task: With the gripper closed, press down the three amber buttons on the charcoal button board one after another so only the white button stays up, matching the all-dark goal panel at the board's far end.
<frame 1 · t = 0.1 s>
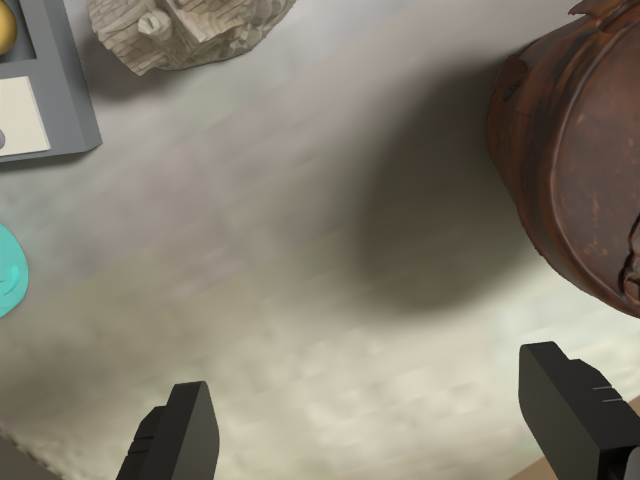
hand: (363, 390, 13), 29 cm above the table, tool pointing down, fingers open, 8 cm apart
brown tapered round container: (566, 109, 40), on the table
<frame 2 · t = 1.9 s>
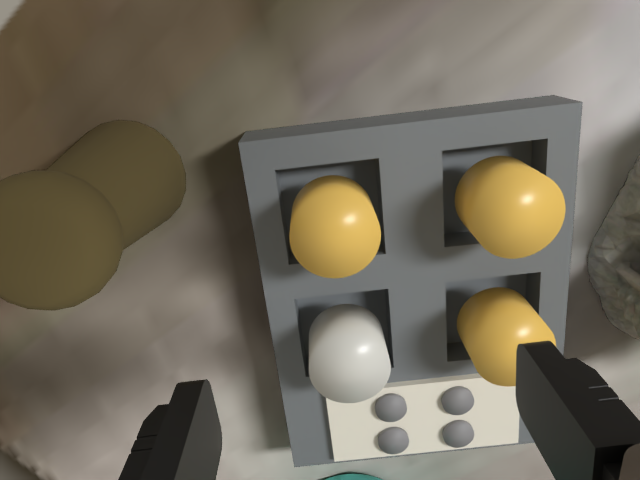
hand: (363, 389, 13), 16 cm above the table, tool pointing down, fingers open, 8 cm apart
white button: (347, 352, 26), point 5 cm above the table, slide at 0.0 cm
amber button 2: (506, 205, 24), point 5 cm above the table, slide at 0.0 cm
amber button 3: (503, 335, 26), point 5 cm above the table, slide at 0.0 cm
amber button 1: (333, 225, 24), point 5 cm above the table, slide at 0.0 cm
olive rounded cylinder: (130, 176, 28), on the table
button board: (407, 285, 30), on the table
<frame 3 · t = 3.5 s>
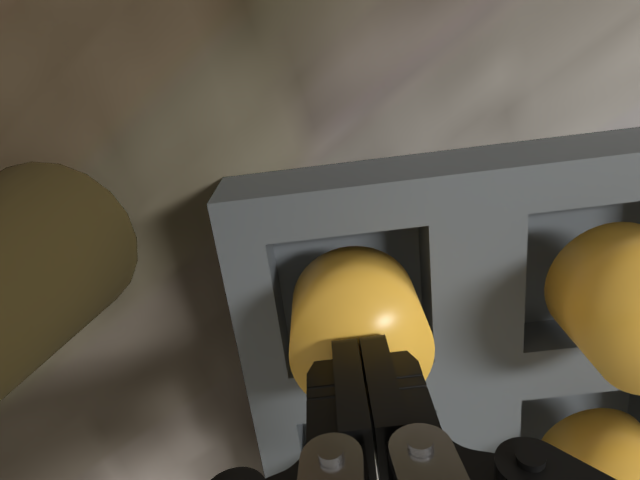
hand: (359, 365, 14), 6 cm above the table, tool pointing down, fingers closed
amber button 2: (636, 305, 15), point 5 cm above the table, slide at 0.0 cm
amber button 1: (357, 326, 15), point 4 cm above the table, slide at 0.5 cm, touching gripper
olive rounded cylinder: (56, 240, 19), on the table
button board: (457, 385, 21), on the table
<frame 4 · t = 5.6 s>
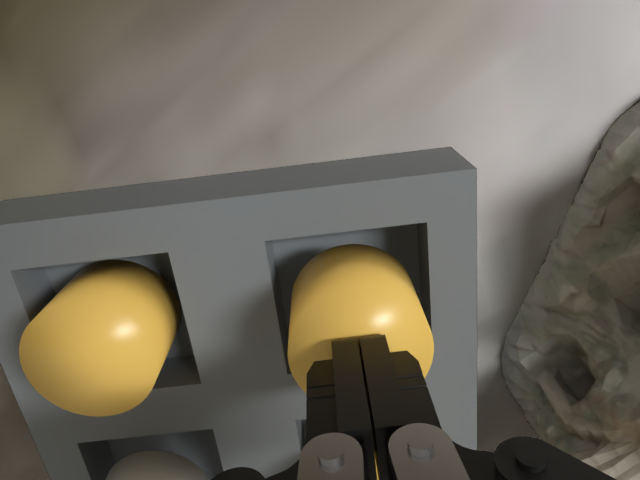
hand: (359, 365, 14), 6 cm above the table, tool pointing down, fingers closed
amber button 2: (356, 324, 15), point 4 cm above the table, slide at 0.4 cm, touching gripper
amber button 1: (107, 335, 17), point 3 cm above the table, slide at 1.4 cm
button board: (267, 401, 22), on the table
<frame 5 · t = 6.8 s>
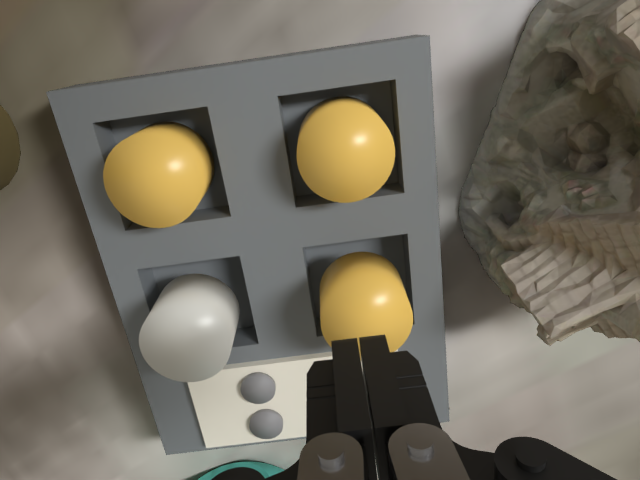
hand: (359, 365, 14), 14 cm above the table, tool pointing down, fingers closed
white button: (192, 326, 24), point 5 cm above the table, slide at 0.0 cm
amber button 2: (343, 147, 22), point 3 cm above the table, slide at 1.4 cm
ceramic cottage: (594, 134, 26), on the table
amber button 3: (363, 304, 23), point 5 cm above the table, slide at 0.0 cm
amber button 1: (162, 173, 22), point 3 cm above the table, slide at 1.4 cm
button board: (279, 254, 28), on the table
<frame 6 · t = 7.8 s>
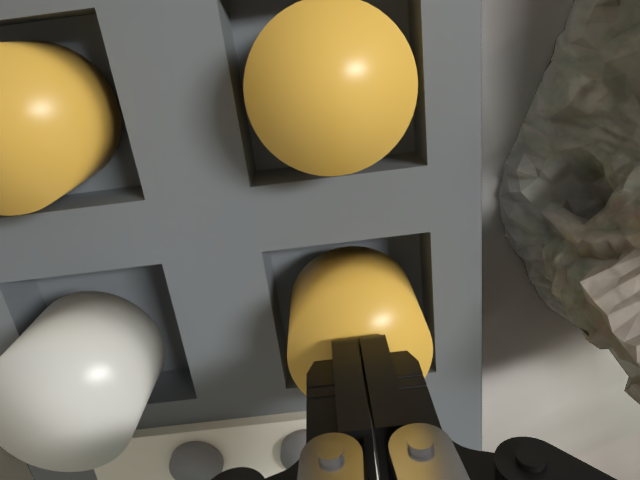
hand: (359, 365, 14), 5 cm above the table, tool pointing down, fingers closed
white button: (80, 377, 15), point 5 cm above the table, slide at 0.0 cm
amber button 2: (328, 85, 13), point 3 cm above the table, slide at 1.4 cm
amber button 3: (355, 326, 15), point 4 cm above the table, slide at 1.1 cm, touching gripper
amber button 1: (23, 124, 13), point 3 cm above the table, slide at 1.4 cm
button board: (234, 261, 19), on the table
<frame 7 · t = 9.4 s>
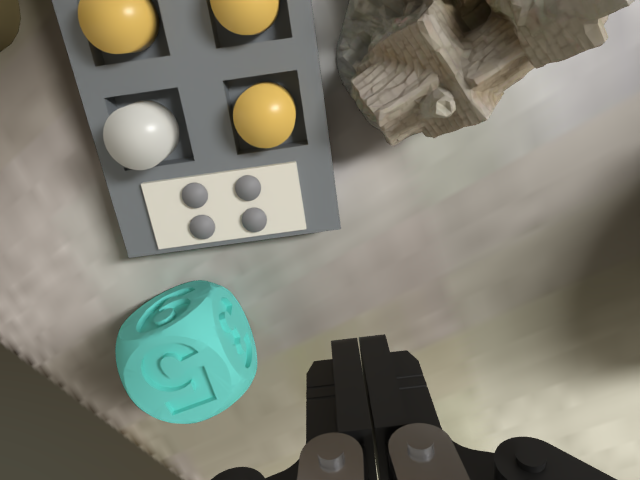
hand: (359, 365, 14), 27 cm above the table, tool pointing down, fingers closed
white button: (143, 134, 33), point 5 cm above the table, slide at 0.0 cm
amber button 2: (246, 0, 32), point 3 cm above the table, slide at 1.4 cm
ceramic cottage: (431, 1, 35), on the table
amber button 3: (265, 114, 34), point 3 cm above the table, slide at 1.4 cm
decorative dice: (200, 322, 44), on the table
amber button 1: (120, 19, 32), point 3 cm above the table, slide at 1.4 cm
button board: (212, 101, 37), on the table
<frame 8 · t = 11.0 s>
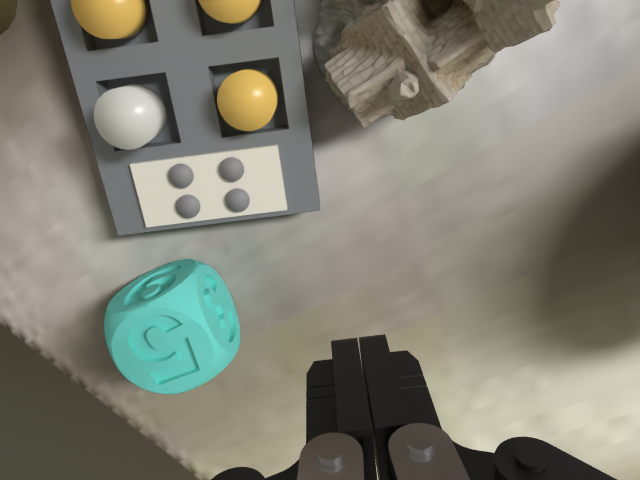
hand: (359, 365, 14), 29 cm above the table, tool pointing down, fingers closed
white button: (131, 116, 35), point 5 cm above the table, slide at 0.0 cm
amber button 3: (248, 99, 36), point 3 cm above the table, slide at 1.4 cm
decorative dice: (186, 300, 46), on the table
amber button 1: (111, 6, 34), point 3 cm above the table, slide at 1.4 cm
button board: (199, 87, 39), on the table
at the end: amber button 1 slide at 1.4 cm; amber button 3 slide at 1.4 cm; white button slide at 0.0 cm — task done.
